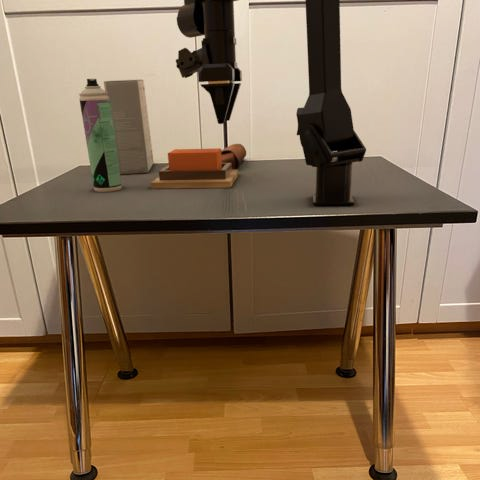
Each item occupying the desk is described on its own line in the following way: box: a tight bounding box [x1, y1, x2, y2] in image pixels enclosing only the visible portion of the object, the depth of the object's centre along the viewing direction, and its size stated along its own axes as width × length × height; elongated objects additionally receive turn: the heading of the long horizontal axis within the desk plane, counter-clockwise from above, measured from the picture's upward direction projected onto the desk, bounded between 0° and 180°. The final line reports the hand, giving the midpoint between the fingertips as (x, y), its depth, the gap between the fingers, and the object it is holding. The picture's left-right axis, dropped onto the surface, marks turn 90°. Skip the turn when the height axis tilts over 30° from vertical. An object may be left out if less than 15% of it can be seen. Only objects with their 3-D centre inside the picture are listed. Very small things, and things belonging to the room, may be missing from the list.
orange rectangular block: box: [167, 147, 222, 170], centre depth 100 cm, size 6×10×5 cm, turn 83°
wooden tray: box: [150, 163, 240, 190], centre depth 101 cm, size 14×16×3 cm
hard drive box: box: [103, 78, 154, 175], centre depth 115 cm, size 16×8×20 cm, turn 5°
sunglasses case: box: [221, 143, 247, 170], centre depth 120 cm, size 18×7×7 cm, turn 175°
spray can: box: [78, 78, 123, 193], centre depth 93 cm, size 6×6×20 cm
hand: (224, 122), depth 97 cm, fingers open, 9 cm apart
